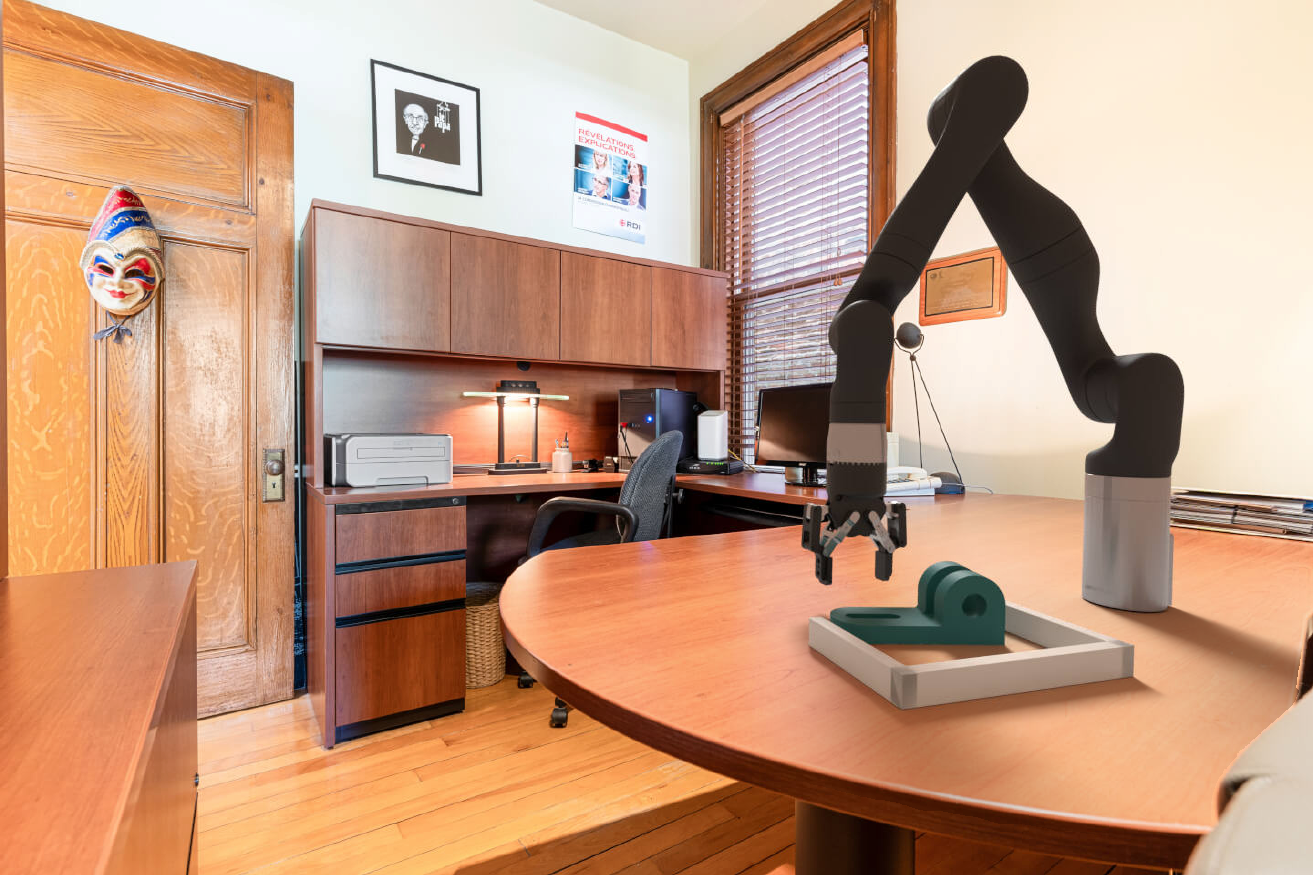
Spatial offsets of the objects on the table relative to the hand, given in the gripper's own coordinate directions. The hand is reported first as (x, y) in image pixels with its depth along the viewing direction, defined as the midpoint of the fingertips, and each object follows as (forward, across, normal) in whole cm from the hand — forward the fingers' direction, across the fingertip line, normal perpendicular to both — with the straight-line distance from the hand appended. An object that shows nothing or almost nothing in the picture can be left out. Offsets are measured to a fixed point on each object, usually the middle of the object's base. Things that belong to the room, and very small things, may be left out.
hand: (853, 581), depth 81 cm
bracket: (+4, 0, +11) cm, 11 cm away
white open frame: (+3, 0, +19) cm, 19 cm away
